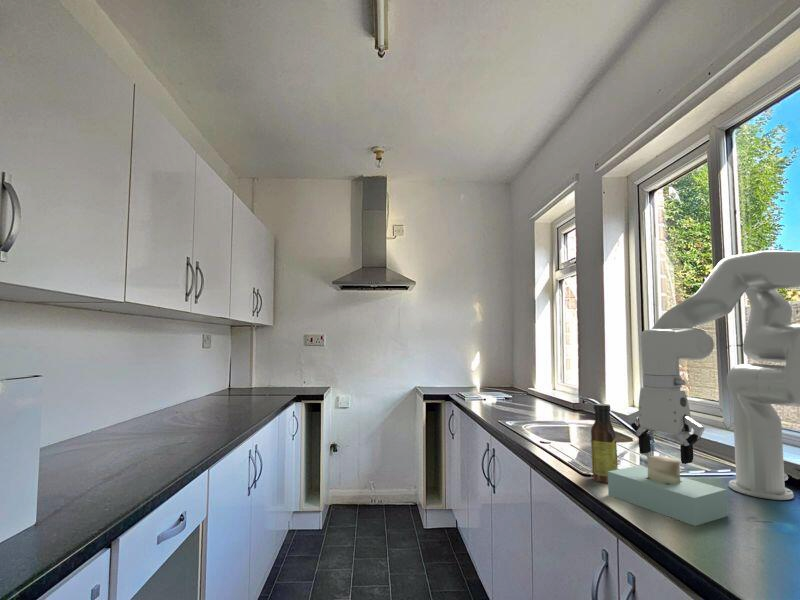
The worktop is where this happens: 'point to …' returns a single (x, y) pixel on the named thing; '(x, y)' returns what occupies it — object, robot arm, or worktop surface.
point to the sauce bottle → (603, 444)
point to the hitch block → (669, 496)
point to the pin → (663, 470)
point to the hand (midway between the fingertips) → (665, 457)
